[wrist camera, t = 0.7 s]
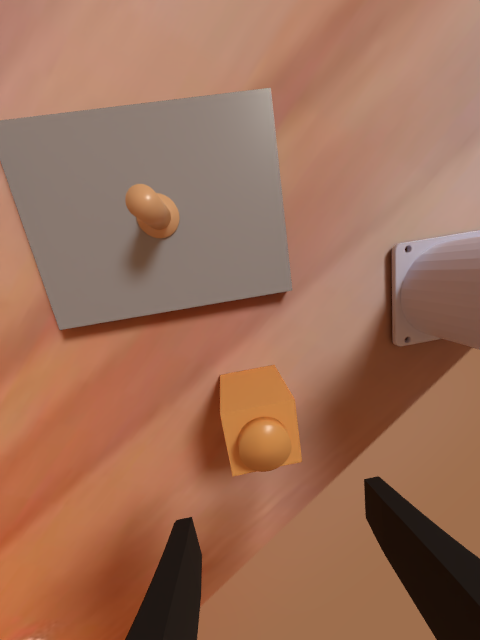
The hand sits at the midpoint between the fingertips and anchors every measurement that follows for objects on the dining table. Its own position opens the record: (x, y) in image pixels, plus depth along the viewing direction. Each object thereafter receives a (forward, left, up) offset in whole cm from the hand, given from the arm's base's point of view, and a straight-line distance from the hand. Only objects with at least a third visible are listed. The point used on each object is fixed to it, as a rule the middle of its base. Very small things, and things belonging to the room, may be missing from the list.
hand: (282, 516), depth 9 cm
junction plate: (+4, -14, -9) cm, 17 cm away
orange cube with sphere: (0, 0, -9) cm, 9 cm away
